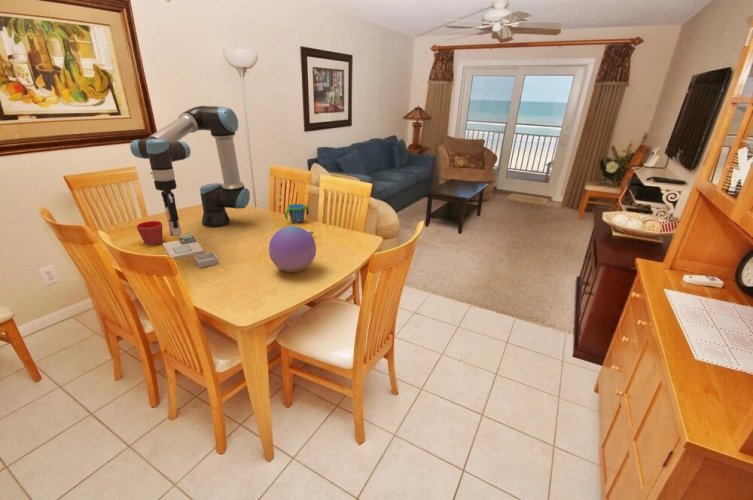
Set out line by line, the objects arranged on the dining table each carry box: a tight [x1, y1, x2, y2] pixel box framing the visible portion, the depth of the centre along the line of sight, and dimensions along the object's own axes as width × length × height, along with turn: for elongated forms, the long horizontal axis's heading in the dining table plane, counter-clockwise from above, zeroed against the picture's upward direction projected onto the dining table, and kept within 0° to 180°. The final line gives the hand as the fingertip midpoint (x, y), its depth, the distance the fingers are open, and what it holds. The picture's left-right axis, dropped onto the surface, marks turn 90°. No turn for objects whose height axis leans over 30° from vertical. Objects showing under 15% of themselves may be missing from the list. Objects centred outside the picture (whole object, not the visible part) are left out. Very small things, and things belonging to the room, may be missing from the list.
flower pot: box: [135, 220, 164, 246], centre depth 171 cm, size 11×11×10 cm
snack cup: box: [284, 203, 310, 224], centre depth 208 cm, size 16×10×10 cm
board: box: [162, 234, 205, 260], centre depth 166 cm, size 14×20×3 cm
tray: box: [193, 251, 220, 269], centre depth 154 cm, size 8×8×3 cm
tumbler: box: [164, 207, 182, 237], centre depth 145 cm, size 4×4×12 cm
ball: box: [268, 225, 317, 273], centre depth 148 cm, size 20×20×20 cm
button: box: [180, 232, 193, 240], centre depth 172 cm, size 5×5×2 cm
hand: (175, 232), depth 147 cm, fingers closed on tumbler, 4 cm apart
